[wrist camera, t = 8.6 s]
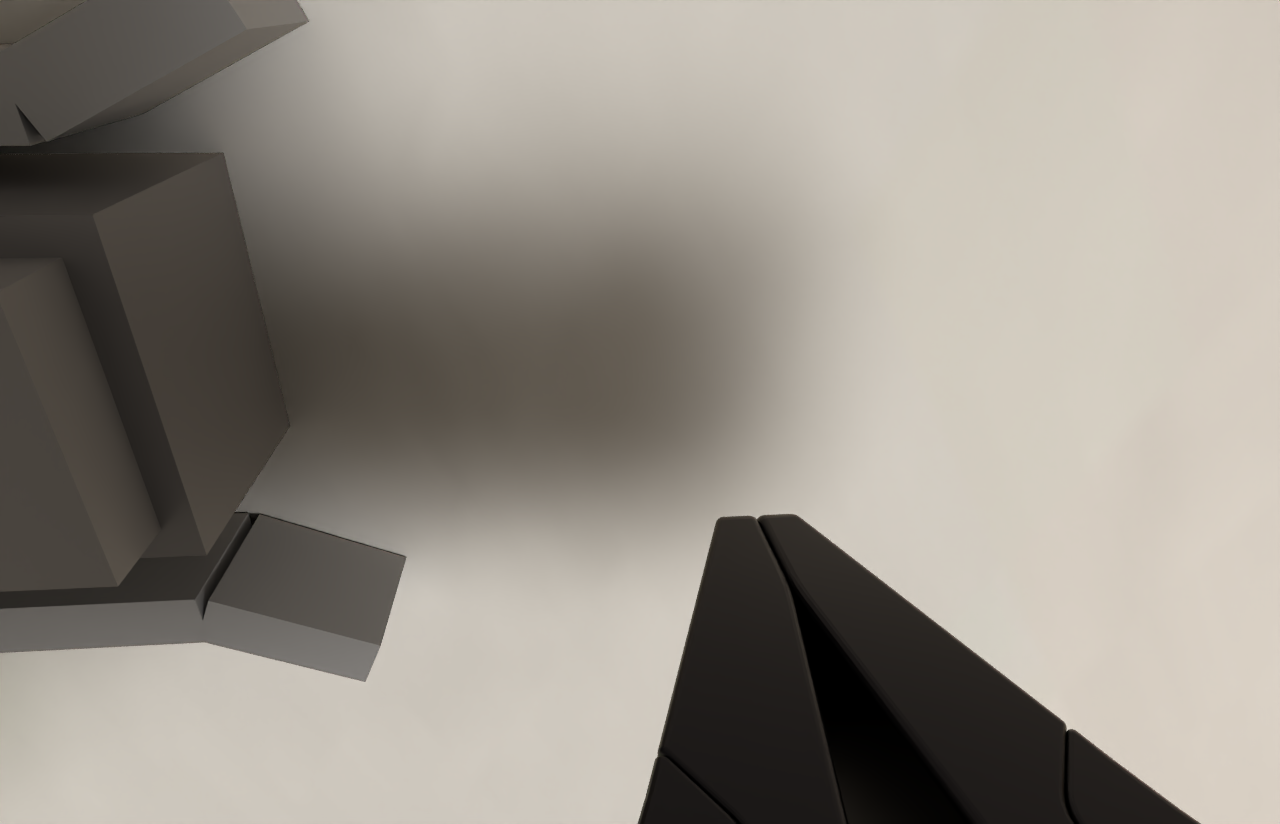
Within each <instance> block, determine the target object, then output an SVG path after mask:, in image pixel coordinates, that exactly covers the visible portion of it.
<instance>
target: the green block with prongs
mask: <svg viewBox="0 0 1280 824" xmlns="http://www.w3.org/2000/svg"><path fill="white" fill-rule="evenodd" d="M307 22H309V20H308V18H307V17H306V15H305V13H304V12H303V10H302V8H301V7H300V5H299V3H298V2H297V0H87V1H85V2H83V3H82V4H80V5H78V6H77V7H75V8H73V9H72V10H70V11H68V12H67V13H65V14H63V15H61V16H60V17H58V18H56V19H55V20H53V21H51V22H50V23H48V24H46V25H45V26H43V27H41V28H39V29H38V30H36V31H34V32H33V33H31V34H29V35H28V36H26V37H24V38H22V39H21V40H19V41H17V42H16V43H14V44H0V146H31V145H34V144H38V143H41V142H45V141H47V142H49V141H52V140H55V139H59V138H62V137H65V136H69V135H72V134H76V133H79V132H82V131H86V130H89V129H93V128H96V127H99V126H103V125H106V124H109V123H113V122H116V121H120V120H123V119H126V118H130V117H133V116H136V115H140V114H143V113H145V112H147V111H149V110H151V109H153V108H154V107H156V106H158V105H160V104H162V103H163V102H165V101H167V100H169V99H171V98H172V97H174V96H176V95H178V94H179V93H181V92H183V91H185V90H187V89H188V88H190V87H192V86H194V85H196V84H197V83H199V82H201V81H203V80H205V79H206V78H208V77H210V76H212V75H214V74H215V73H217V72H219V71H221V70H223V69H224V68H226V67H228V66H230V65H232V64H233V63H235V62H237V61H239V60H241V59H242V58H244V57H246V56H248V55H249V54H251V53H253V52H255V51H257V50H258V49H260V48H262V47H264V46H266V45H267V44H269V43H271V42H273V41H275V40H276V39H278V38H280V37H282V36H284V35H285V34H287V33H289V32H291V31H293V30H294V29H296V28H298V27H300V26H302V25H303V24H305V23H307ZM405 560H406V557H403V556H400V555H396V554H393V553H390V552H386V551H383V550H379V549H376V548H373V547H369V546H366V545H363V544H359V543H356V542H352V541H349V540H346V539H342V538H339V537H335V536H332V535H329V534H325V533H322V532H318V531H315V530H312V529H308V528H305V527H301V526H298V525H295V524H291V523H288V522H284V521H281V520H278V519H274V518H271V517H268V516H264V515H261V514H259V516H258V518H257V520H256V521H255V523H254V525H253V526H252V524H251V520H250V517H249V514H248V513H234V514H233V515H232V517H231V518H230V520H229V521H228V523H227V525H226V526H225V528H224V529H223V531H222V532H221V534H220V535H219V537H218V539H217V540H216V542H215V543H214V545H213V546H212V548H211V549H210V551H209V553H208V554H207V555H204V556H180V557H156V558H139V559H138V561H137V562H136V563H135V565H134V566H133V567H132V569H131V570H130V571H129V573H128V574H127V575H126V577H125V578H124V579H123V581H122V582H121V583H120V585H119V586H117V587H95V588H72V589H50V590H27V591H5V592H0V653H5V652H25V651H44V650H63V649H83V648H102V647H121V646H141V645H160V644H179V643H199V642H206V643H210V644H214V645H218V646H222V647H226V648H230V649H234V650H238V651H242V652H246V653H250V654H254V655H258V656H262V657H266V658H270V659H274V660H278V661H283V662H287V663H291V664H295V665H299V666H303V667H307V668H311V669H315V670H319V671H323V672H327V673H331V674H335V675H339V676H343V677H347V678H351V679H355V680H359V681H363V682H365V681H366V679H367V677H368V674H369V672H370V670H371V667H372V665H373V662H374V660H375V658H376V655H377V653H378V651H379V648H380V646H381V642H382V639H383V636H384V632H385V629H386V625H387V622H388V618H389V615H390V611H391V608H392V605H393V601H394V598H395V594H396V591H397V587H398V584H399V580H400V577H401V574H402V570H403V567H404V563H405Z"/></svg>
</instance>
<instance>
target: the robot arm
mask: <svg viewBox="0 0 1280 824" xmlns="http://www.w3.org/2000/svg"><path fill="white" fill-rule="evenodd" d="M638 824H1200V823H1199V822H1198V821H1196V820H1195V819H1193V818H1192V817H1190V816H1189V815H1188V814H1186V813H1185V812H1183V811H1182V810H1180V809H1179V808H1178V807H1176V806H1175V805H1174V804H1172V803H1171V802H1170V801H1168V800H1167V799H1165V798H1164V797H1163V796H1161V795H1160V794H1159V793H1157V792H1156V791H1155V790H1153V789H1152V788H1151V787H1149V786H1148V785H1147V784H1145V783H1144V782H1143V781H1141V780H1140V779H1139V778H1137V777H1136V776H1135V775H1133V774H1132V773H1131V772H1129V771H1128V770H1127V769H1125V768H1124V767H1123V766H1121V765H1120V764H1118V763H1117V762H1116V761H1114V760H1113V759H1112V758H1111V757H1109V756H1108V755H1107V754H1105V753H1104V752H1103V751H1102V750H1100V749H1099V748H1098V747H1096V746H1095V745H1094V744H1092V743H1091V742H1090V741H1089V740H1087V739H1086V738H1085V737H1083V736H1082V735H1081V734H1080V733H1078V732H1077V731H1076V730H1073V729H1070V730H1068V731H1067V732H1066V724H1065V723H1064V721H1062V720H1061V719H1060V718H1058V717H1057V716H1056V715H1055V714H1053V713H1052V712H1051V711H1049V710H1048V709H1047V708H1046V707H1044V706H1043V705H1042V704H1040V703H1039V702H1038V701H1036V700H1035V699H1034V698H1033V697H1031V696H1030V695H1029V694H1027V693H1026V692H1025V691H1024V690H1022V689H1021V688H1020V687H1018V686H1017V685H1016V684H1015V683H1013V682H1012V681H1011V680H1009V679H1008V678H1007V677H1005V676H1004V675H1003V674H1002V673H1000V672H999V671H998V670H996V669H995V668H994V667H993V666H991V665H990V664H989V663H987V662H986V661H985V660H984V659H982V658H981V657H980V656H978V655H977V654H976V653H974V652H973V651H972V650H971V649H969V648H968V647H967V646H965V645H964V644H963V643H962V642H960V641H959V640H958V639H956V638H955V637H954V636H953V635H951V634H950V633H949V632H947V631H946V630H945V629H944V628H942V627H941V626H940V625H938V624H937V623H936V622H934V621H933V620H932V619H931V618H929V617H928V616H927V615H925V614H924V613H923V612H922V611H920V610H919V609H918V608H916V607H915V606H914V605H913V604H911V603H910V602H909V601H907V600H906V599H905V598H903V597H902V596H901V595H900V594H898V593H897V592H896V591H894V590H893V589H892V588H891V587H889V586H888V585H887V584H885V583H884V582H883V581H882V580H880V579H879V578H878V577H876V576H875V575H874V574H873V573H871V572H870V571H869V570H867V569H866V568H865V567H863V566H862V565H861V564H860V563H858V562H857V561H856V560H854V559H853V558H852V557H851V556H849V555H848V554H847V553H845V552H844V551H843V550H842V549H840V548H839V547H838V546H836V545H835V544H834V543H832V542H831V541H830V540H829V539H827V538H826V537H825V536H823V535H822V534H821V533H820V532H818V531H817V530H816V529H814V528H813V527H812V526H811V525H809V524H808V523H807V522H805V521H804V520H803V519H801V518H800V517H798V516H797V515H794V514H779V515H762V516H760V517H759V518H758V519H756V518H754V517H752V516H732V517H721V518H719V519H718V520H717V521H716V525H715V528H714V532H713V536H712V540H711V544H710V548H709V552H708V556H707V560H706V564H705V568H704V572H703V576H702V580H701V583H700V587H699V591H698V595H697V599H696V603H695V607H694V611H693V615H692V619H691V623H690V627H689V631H688V635H687V638H686V642H685V646H684V650H683V654H682V658H681V662H680V666H679V670H678V674H677V678H676V682H675V686H674V690H673V694H672V697H671V701H670V705H669V709H668V713H667V717H666V721H665V725H664V729H663V733H662V737H661V741H660V745H659V749H658V757H657V758H656V759H655V762H654V766H653V770H652V774H651V778H650V782H649V786H648V790H647V794H646V798H645V801H644V804H643V808H642V811H641V814H640V818H639V821H638Z"/></svg>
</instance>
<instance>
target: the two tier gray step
mask: <svg viewBox="0 0 1280 824" xmlns="http://www.w3.org/2000/svg"><path fill="white" fill-rule="evenodd" d="M289 427H290V424H289V420H288V415H287V411H286V407H285V403H284V399H283V395H282V391H281V387H280V383H279V379H278V374H277V370H276V366H275V362H274V358H273V354H272V350H271V346H270V342H269V338H268V334H267V329H266V325H265V321H264V317H263V313H262V309H261V305H260V301H259V297H258V293H257V288H256V284H255V280H254V276H253V272H252V268H251V264H250V260H249V256H248V252H247V247H246V243H245V239H244V235H243V231H242V227H241V223H240V219H239V215H238V211H237V207H236V202H235V198H234V194H233V190H232V186H231V182H230V178H229V174H228V170H227V166H226V161H225V157H224V153H74V154H0V592H5V591H27V590H50V589H72V588H95V587H117V586H119V585H120V583H121V582H122V581H123V579H124V578H125V577H126V575H127V574H128V573H129V571H130V570H131V569H132V567H133V566H134V565H135V563H136V562H137V561H138V559H139V558H156V557H180V556H204V555H207V554H208V553H209V551H210V549H211V548H212V546H213V545H214V543H215V542H216V540H217V539H218V537H219V535H220V534H221V532H222V531H223V529H224V528H225V526H226V525H227V523H228V521H229V520H230V518H231V517H232V515H233V514H234V512H235V511H236V509H237V507H238V506H239V504H240V503H241V501H242V500H243V498H244V497H245V495H246V493H247V492H248V490H249V489H250V487H251V486H252V484H253V483H254V481H255V479H256V478H257V476H258V475H259V473H260V472H261V470H262V469H263V467H264V465H265V464H266V462H267V461H268V459H269V458H270V456H271V455H272V453H273V451H274V450H275V448H276V447H277V445H278V444H279V442H280V441H281V439H282V437H283V436H284V434H285V433H286V431H287V430H288V428H289Z"/></svg>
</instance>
